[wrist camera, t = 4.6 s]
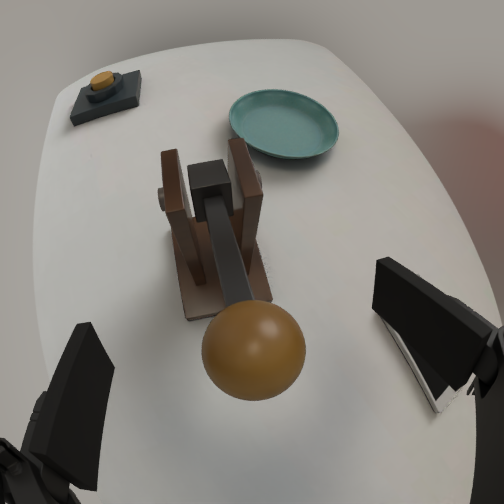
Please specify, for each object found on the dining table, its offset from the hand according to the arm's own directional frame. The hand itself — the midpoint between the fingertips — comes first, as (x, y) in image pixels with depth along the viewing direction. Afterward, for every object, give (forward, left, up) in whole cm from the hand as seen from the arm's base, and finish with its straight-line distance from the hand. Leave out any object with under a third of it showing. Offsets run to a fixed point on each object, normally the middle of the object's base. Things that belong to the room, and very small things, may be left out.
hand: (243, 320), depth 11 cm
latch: (0, +2, -2) cm, 3 cm away
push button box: (-14, +42, -14) cm, 46 cm away
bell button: (-14, +42, -10) cm, 45 cm away
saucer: (+12, +25, -14) cm, 31 cm away
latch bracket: (0, +8, -14) cm, 16 cm away
